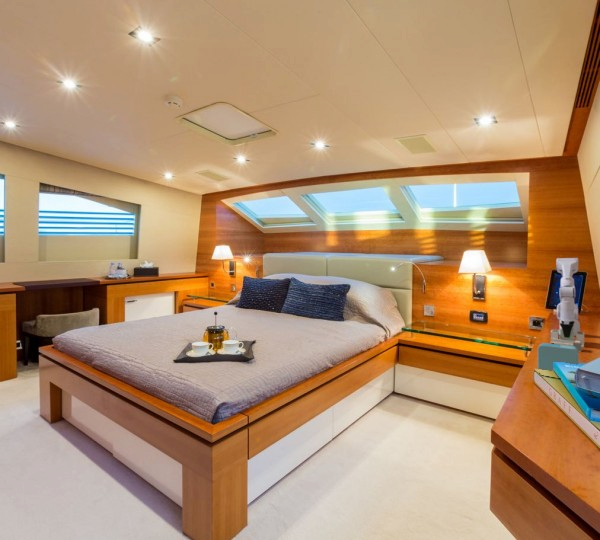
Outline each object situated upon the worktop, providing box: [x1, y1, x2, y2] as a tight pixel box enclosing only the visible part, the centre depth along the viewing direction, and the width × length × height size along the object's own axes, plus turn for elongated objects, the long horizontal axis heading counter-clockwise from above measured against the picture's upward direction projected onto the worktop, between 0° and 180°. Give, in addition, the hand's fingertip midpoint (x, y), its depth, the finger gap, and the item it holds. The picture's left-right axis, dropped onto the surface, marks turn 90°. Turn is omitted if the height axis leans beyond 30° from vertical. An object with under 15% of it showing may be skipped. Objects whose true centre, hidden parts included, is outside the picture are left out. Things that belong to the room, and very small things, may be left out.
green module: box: [559, 328, 575, 341], centre depth 183 cm, size 4×6×7 cm
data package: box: [537, 342, 580, 371], centre depth 133 cm, size 12×4×12 cm, turn 48°
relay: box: [573, 340, 583, 352], centre depth 170 cm, size 5×3×4 cm, turn 140°
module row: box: [550, 329, 585, 348], centre depth 183 cm, size 10×14×6 cm
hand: (567, 336), depth 183 cm, fingers open, 7 cm apart
